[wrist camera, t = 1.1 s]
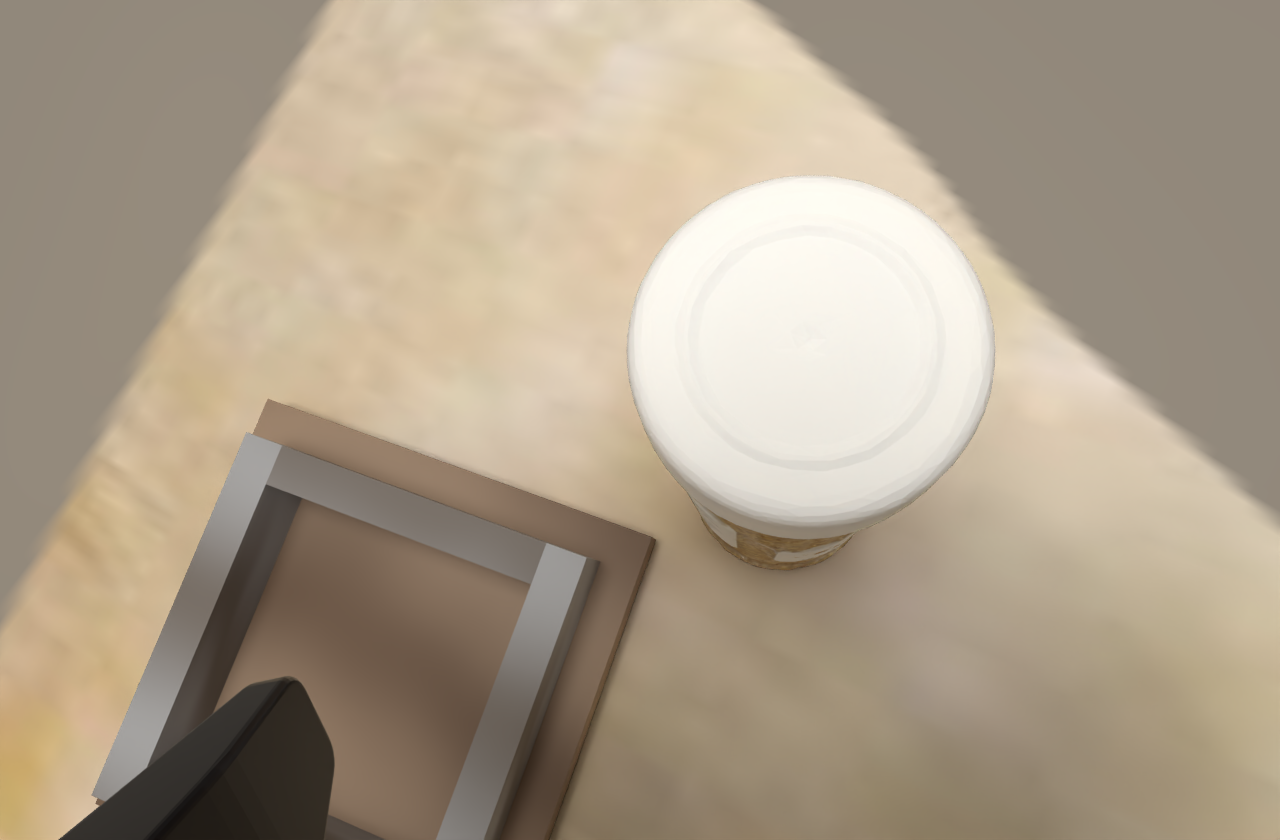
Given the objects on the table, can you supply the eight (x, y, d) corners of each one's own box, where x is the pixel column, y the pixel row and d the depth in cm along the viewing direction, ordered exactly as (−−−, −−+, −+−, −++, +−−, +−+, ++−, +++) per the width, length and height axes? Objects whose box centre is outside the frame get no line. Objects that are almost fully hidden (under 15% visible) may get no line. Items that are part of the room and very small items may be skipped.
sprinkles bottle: (861, 580, 24) (992, 551, 11) (681, 558, 25) (597, 505, 11) (876, 402, 25) (1016, 174, 12) (701, 385, 25) (644, 150, 12)
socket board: (502, 970, 23) (465, 1023, 20) (121, 795, 25) (37, 821, 22) (655, 540, 25) (642, 530, 22) (285, 406, 27) (227, 382, 24)
